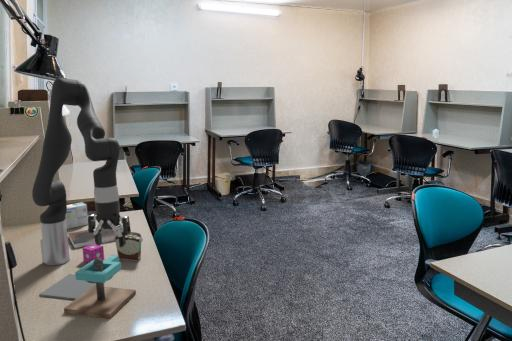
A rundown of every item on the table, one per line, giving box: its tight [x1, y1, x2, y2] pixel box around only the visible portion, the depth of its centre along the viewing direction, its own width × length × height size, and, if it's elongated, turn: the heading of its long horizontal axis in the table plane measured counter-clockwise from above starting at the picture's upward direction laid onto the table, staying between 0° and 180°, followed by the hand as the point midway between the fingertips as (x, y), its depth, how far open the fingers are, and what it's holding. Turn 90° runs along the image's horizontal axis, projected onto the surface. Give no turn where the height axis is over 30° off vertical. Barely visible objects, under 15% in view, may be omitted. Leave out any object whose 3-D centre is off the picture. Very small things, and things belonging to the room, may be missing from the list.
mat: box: [38, 273, 96, 301], centre depth 151 cm, size 15×16×1 cm
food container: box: [114, 231, 144, 262], centre depth 176 cm, size 12×6×10 cm, turn 74°
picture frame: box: [67, 229, 117, 249], centre depth 199 cm, size 16×2×22 cm
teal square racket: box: [74, 254, 122, 284], centre depth 140 cm, size 10×15×2 cm, turn 167°
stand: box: [63, 258, 137, 319], centre depth 138 cm, size 16×16×16 cm
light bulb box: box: [66, 201, 88, 230], centre depth 218 cm, size 11×7×11 cm, turn 130°
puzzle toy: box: [81, 244, 105, 264], centre depth 174 cm, size 6×6×6 cm
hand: (110, 245), depth 144 cm, fingers open, 8 cm apart
